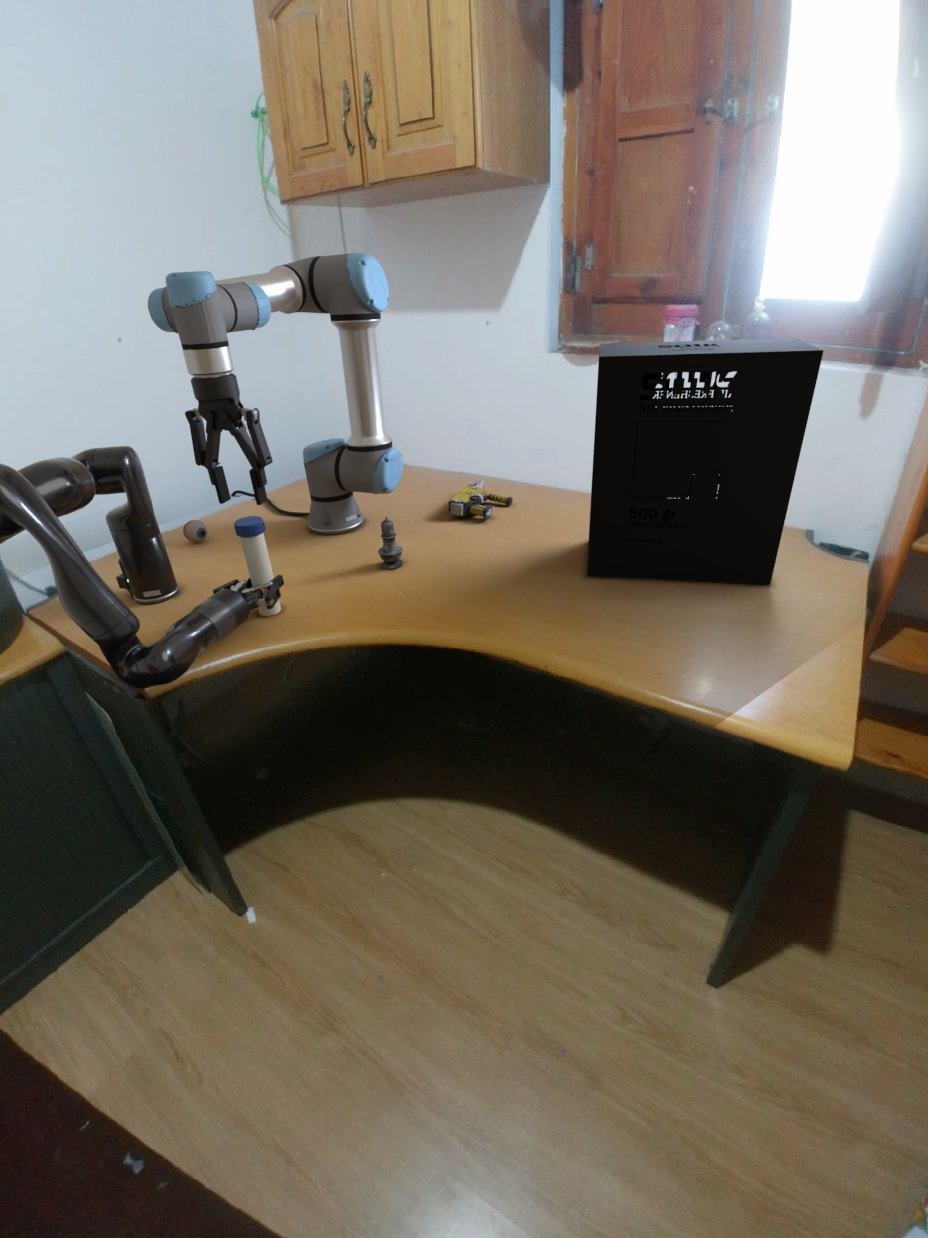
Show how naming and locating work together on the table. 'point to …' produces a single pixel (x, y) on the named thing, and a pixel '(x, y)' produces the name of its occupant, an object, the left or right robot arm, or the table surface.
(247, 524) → the lid
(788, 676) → the table surface
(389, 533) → the grey tall stepped piece
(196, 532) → the eyeball
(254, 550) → the jar
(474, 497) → the toy gun
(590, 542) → the cardboard box
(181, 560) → the table surface
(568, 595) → the table surface
